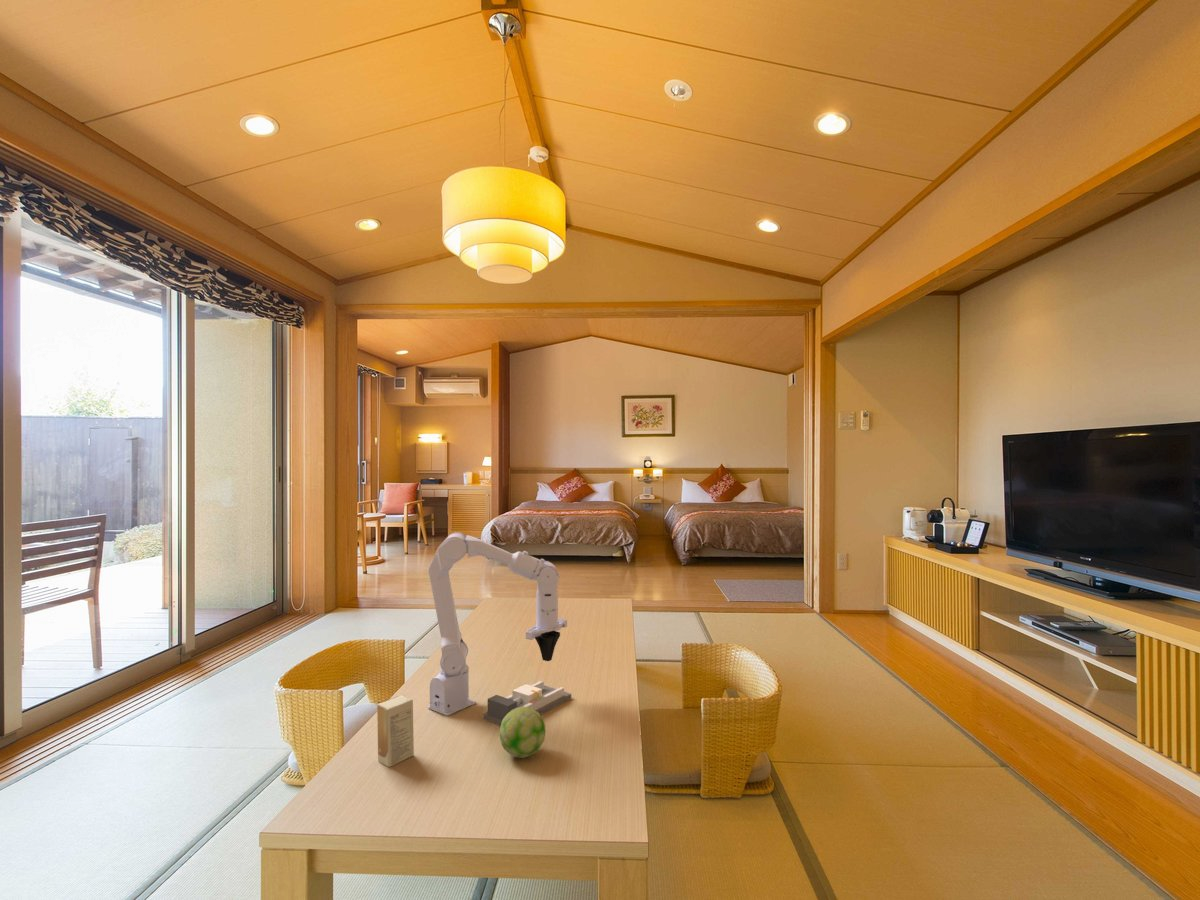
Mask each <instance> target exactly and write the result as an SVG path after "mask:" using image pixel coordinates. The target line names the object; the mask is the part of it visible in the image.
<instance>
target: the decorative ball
mask: <svg viewBox="0 0 1200 900" xmlns="http://www.w3.org/2000/svg"><path fill="white" fill-rule="evenodd" d="M499 727H500V728H499V740H500V744H501V746H502V747H503V749H504V750H505V751H506V752H507V753H508V754H509V755H510V756H511V757H514V758H518V759H521V758H523V759H524V758H525V759H526V758H529V757H531V756H533V755H535V754H536V753H537V752H538V751H539V750H540V748H541V747H542V746H543V744H544V742H545V739H546V723H545V721H544V719H543V717H542V714H541V715H540V714H539V713H538V712H537V711H535V710H534V709H533V708H529V707H518V708H515V709H513V710H511V711H510V712H509V713H508V714H507V715H506V716H505V717H504V719H503V720H502V723H501V725H500V726H499Z"/></svg>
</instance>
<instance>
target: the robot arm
mask: <svg viewBox="0 0 1200 900" xmlns="http://www.w3.org/2000/svg"><path fill="white" fill-rule="evenodd" d="M466 554H467V558H473V557H476V556H477V557H478V556H481V557H484V558H486V559H489V560H492V561H495V562H498V563H500V564H502V565H503V564H504V565H506V566H508V569H509V571H510V573H512V574H516V575H518V576H519V577H523V578H524V579H525V578H526V579H528V580H530V581H536V583H537V587H536V589H537V590H536V592H535V593H536V604H535V608H536V610H535V611H536V613H535V614H536V616H535V617H536V620H535V622H536V624H535V625H534V626H532V627H531V628H530V629H528V630H526V631H525V639H526V640H528V641H529V640H530V641H532V640H534V639H535V641H536V644H537V645H538V648H539V650H540V654H541V658H542V661H545V662H550V661H552V659H553V656H554V652H555V648H556V644H557V642H558V640H559V639H560V637H561V632H560V630H561V628H568V619H566V618H565V619H564V618H560V619H559V592H558V587H559V586H558V583H559V581H560V576H559V575H560V574H559V572H558V569H557V567H556V565H555V564H553V563H552V562H550V561H549V560H546V559H544V558H540V559H539V558H537V557H534V556H532V555H529V552H528V551H526V550H523V551H520V550H519V551H516V552H514V553H511V552H510V551H507V550H506V549H503V548H501V547H498V546H496V545H494V544H491V543H489V542H487V541H484V540H483V539H480V538H478V537H475V536H472V535H469V534H467V535H465V534H464V533H462V532H459V531H458V532H452V533H451V534H449V535H448V536H447V537H446V538H445V539H444V540H443V541H442V542H441V544H440V545H439V546H438V547H437V549H436V551H435V554H434V557H433V558H432V561H431V563H430V565H429V566H428V575H429V580H430V586H431V591H432V592H431V593H432V596H433V603H434V607H435V611H436V612H435V613H436V617H437V618H436V619H437V623H438V627H439V628H438V629H439V634H440V649H441V658H440V659H439V660H440V661H439V666H440V669H439V673H438V674H437V675H435V676H434V677H432V679H431V680H430V683H429V705H428V706H427V709H429V710H431V711H432V710H433V711H434V712H437V713H440V714H441V715H443V716H450V715H452V714H454V713H457V712H459V711H461V710H464V709H466V708H468V707H470V706H472V705H475V704H476V702H477V701H476V700H474V699H473V698H470V697H469V696H470V695H469V688H470V687H469V682H470V679H469V673H470V671H469V669H470V668H469V665H468V664H467V663H466V661H467V656H468V654H469V648H468V645H467V643H465V641H464V639H463V636H462V633H461V630H460V627H459V622H458V617H457V610H456V605H455V600H454V594H453V590H452V584H451V583H452V582H451V579H450V570H451V569H452V568H453V567H454V565H455V564H456V563H458V562H459V561H461V560H462V559H463V558H464V557H465V556H466Z"/></svg>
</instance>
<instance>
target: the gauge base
mask: <svg viewBox="0 0 1200 900" xmlns="http://www.w3.org/2000/svg"><path fill="white" fill-rule="evenodd" d="M530 686H534V687H537V688H540V689H542V697H541V696H540V697H539V698H536V699H535V700H532V701H530V703H528V704H526V705H524V706H522V707H529V708H533V709H534V710H535V711H537V712H538V713H539V714H540V715H541V716H542V715H543V714H545V713H547V712H549V711H551V710H552V709H554V708H556V707H558V706H560V705H561V703H562V704H563V702H564V703H565V702H568V701H569V700H571V699H572V693H571V692H570V693H569V692H567V691H565V687H562V686H560V687H558V688H554V687H551V686H547V685H545V684H544V681H542V680H539V681H537V682H535V683H534V684H530ZM570 698H571V699H570ZM559 704H560V705H559ZM557 705H558V706H557ZM555 706H556V707H555ZM515 708H518V706H517V702H516V701H513V700H512V694H510V695H506V697H504V696H501V695H498V694H495V695H493V696H490V697H489V698H487V711H486V712H484V713H482V715H483V716H482V717H483V720H485V721H489V722H491V723H493V724H495V725H499V726H501V723H502V720H503V719H504V717H505V716H506V715H507V714H508V713H509V712H510V711H511V710H513V709H515ZM550 709H551V710H550ZM548 710H549V711H548ZM546 711H547V712H546ZM544 712H545V713H544ZM542 713H543V714H542Z"/></svg>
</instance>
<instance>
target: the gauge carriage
mask: <svg viewBox="0 0 1200 900" xmlns="http://www.w3.org/2000/svg"><path fill="white" fill-rule="evenodd" d="M511 693H512V694H511V695H512V700H513V701H516V702H517V706H518V707H522V706H524V705H526V704H528V703H530V701H532V700H535V699H536V698H539V697H540V696H541V697H542V689H540V688H537V687H534V686H531V684H527V683H525V684H524V685H521V686H519V687H516V688H515V689H512V692H511Z"/></svg>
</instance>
